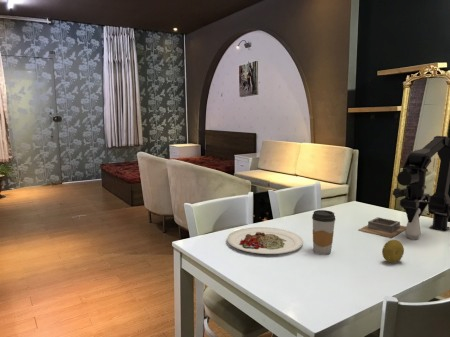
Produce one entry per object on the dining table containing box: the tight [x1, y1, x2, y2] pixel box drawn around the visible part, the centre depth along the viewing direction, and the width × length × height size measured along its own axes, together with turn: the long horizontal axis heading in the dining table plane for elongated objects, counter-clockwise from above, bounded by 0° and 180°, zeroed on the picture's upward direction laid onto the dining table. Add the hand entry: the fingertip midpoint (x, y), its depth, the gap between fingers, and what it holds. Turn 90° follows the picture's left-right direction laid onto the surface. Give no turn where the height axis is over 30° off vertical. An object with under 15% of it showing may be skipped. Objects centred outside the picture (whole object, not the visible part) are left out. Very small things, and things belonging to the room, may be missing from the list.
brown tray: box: [358, 217, 407, 239], centre depth 160 cm, size 20×14×4 cm
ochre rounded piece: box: [381, 239, 405, 264], centre depth 123 cm, size 8×4×8 cm, turn 110°
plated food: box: [226, 226, 304, 255], centre depth 142 cm, size 30×30×3 cm
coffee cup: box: [311, 209, 336, 256], centre depth 132 cm, size 8×8×15 cm
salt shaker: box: [404, 208, 422, 240], centre depth 148 cm, size 6×6×13 cm
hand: (413, 220), depth 148 cm, fingers open, 9 cm apart
